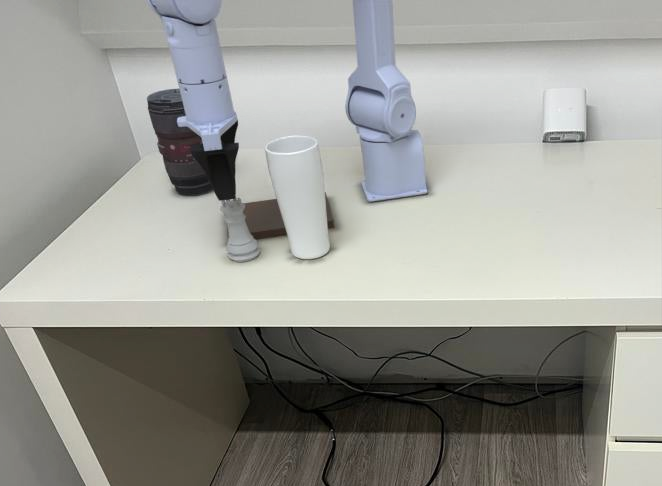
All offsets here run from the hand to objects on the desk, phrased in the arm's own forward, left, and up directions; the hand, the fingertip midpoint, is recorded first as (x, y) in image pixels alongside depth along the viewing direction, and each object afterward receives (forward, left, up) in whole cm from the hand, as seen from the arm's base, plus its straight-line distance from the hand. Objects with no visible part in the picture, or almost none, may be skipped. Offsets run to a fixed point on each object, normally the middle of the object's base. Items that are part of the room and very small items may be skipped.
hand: (227, 187), depth 97 cm
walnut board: (-6, -10, -10) cm, 15 cm away
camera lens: (+7, -27, -10) cm, 30 cm away
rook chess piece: (0, 0, -10) cm, 10 cm away
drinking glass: (-9, +2, -10) cm, 14 cm away
